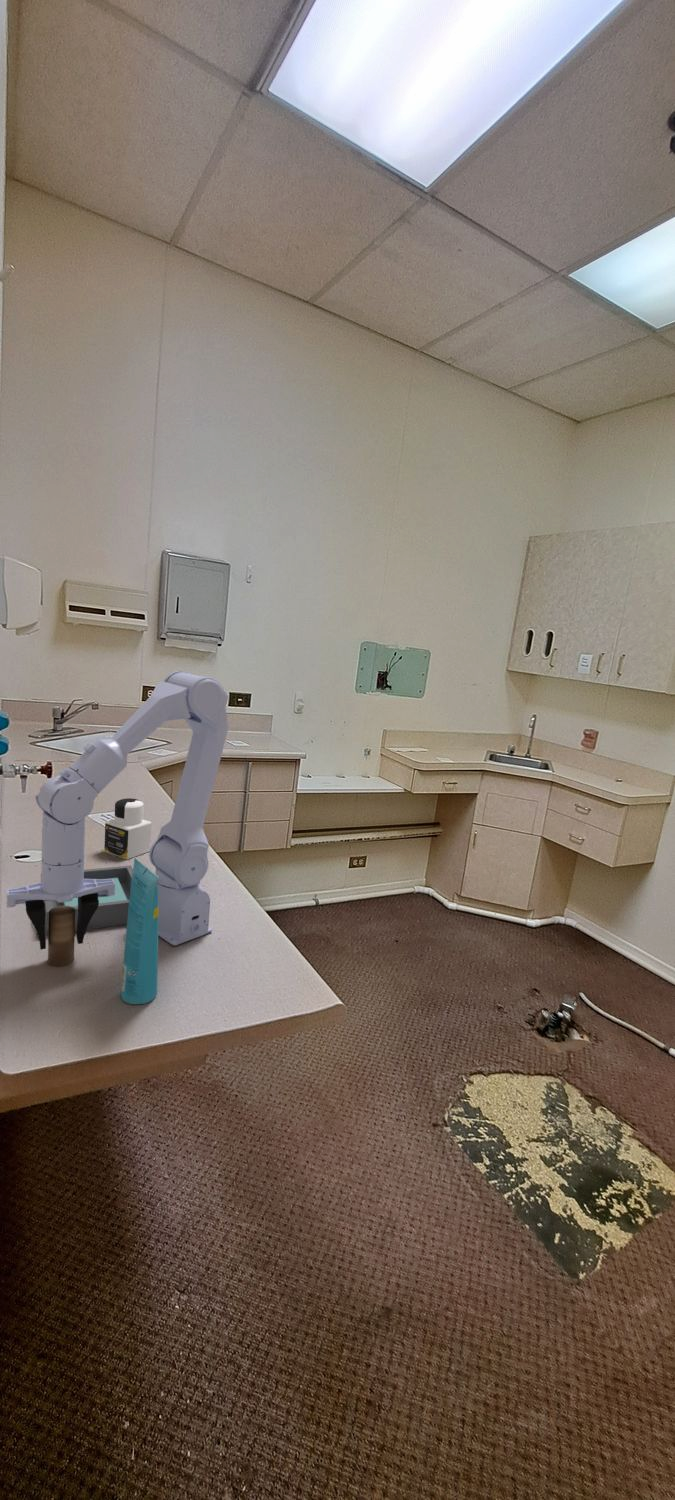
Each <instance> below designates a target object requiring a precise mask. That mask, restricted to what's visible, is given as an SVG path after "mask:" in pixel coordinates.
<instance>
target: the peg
mask: <svg viewBox="0 0 675 1500" xmlns="http://www.w3.org/2000/svg"><path fill="white" fill-rule="evenodd" d="M75 933H76V931H75V908H73V907H71V906H58V907H55V908H52V909H51V910H50V911H49V931H48V935H47V937H48V939H47V940H48V942H47V943H48V944H47V963H48V965H49V966H52V967H58V968H60V967H64V966H67V965H70V964H72V963H73V962H74V961H75V940H76V938H75V935H76V934H75Z"/></svg>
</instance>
